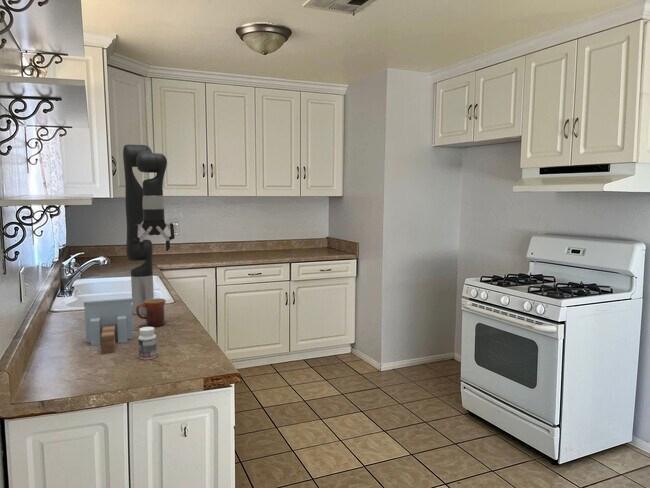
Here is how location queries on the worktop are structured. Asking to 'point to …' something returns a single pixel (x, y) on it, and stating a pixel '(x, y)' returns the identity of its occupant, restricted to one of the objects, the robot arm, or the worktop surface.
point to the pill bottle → (147, 343)
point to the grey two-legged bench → (108, 319)
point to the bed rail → (108, 339)
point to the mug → (153, 312)
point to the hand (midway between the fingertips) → (155, 251)
